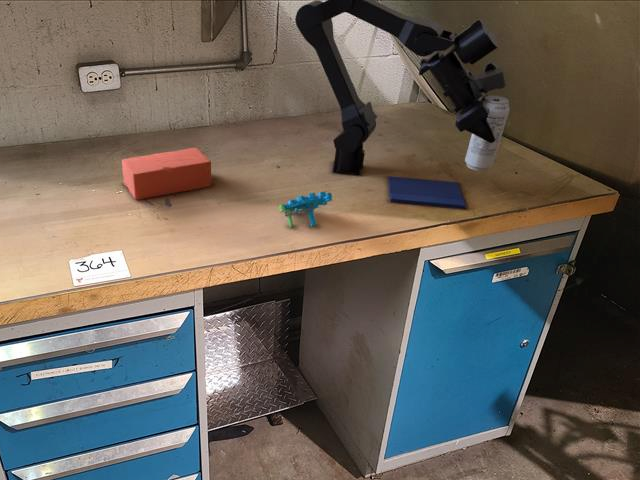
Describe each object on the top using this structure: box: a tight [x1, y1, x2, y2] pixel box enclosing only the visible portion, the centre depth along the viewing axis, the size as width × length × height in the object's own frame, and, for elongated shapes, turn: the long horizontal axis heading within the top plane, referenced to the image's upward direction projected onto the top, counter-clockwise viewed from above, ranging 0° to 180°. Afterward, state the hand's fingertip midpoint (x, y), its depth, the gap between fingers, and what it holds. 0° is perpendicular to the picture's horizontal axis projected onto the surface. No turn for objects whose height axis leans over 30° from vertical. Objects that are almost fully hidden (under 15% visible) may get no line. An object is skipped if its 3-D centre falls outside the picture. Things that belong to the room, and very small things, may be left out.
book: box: [388, 175, 467, 210], centre depth 136 cm, size 16×13×1 cm
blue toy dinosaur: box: [279, 191, 333, 228], centre depth 122 cm, size 11×6×10 cm
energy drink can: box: [464, 94, 511, 172], centre depth 130 cm, size 6×6×15 cm
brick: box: [121, 147, 212, 201], centre depth 135 cm, size 18×9×6 cm, turn 116°
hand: (493, 136), depth 129 cm, fingers closed on energy drink can, 6 cm apart
